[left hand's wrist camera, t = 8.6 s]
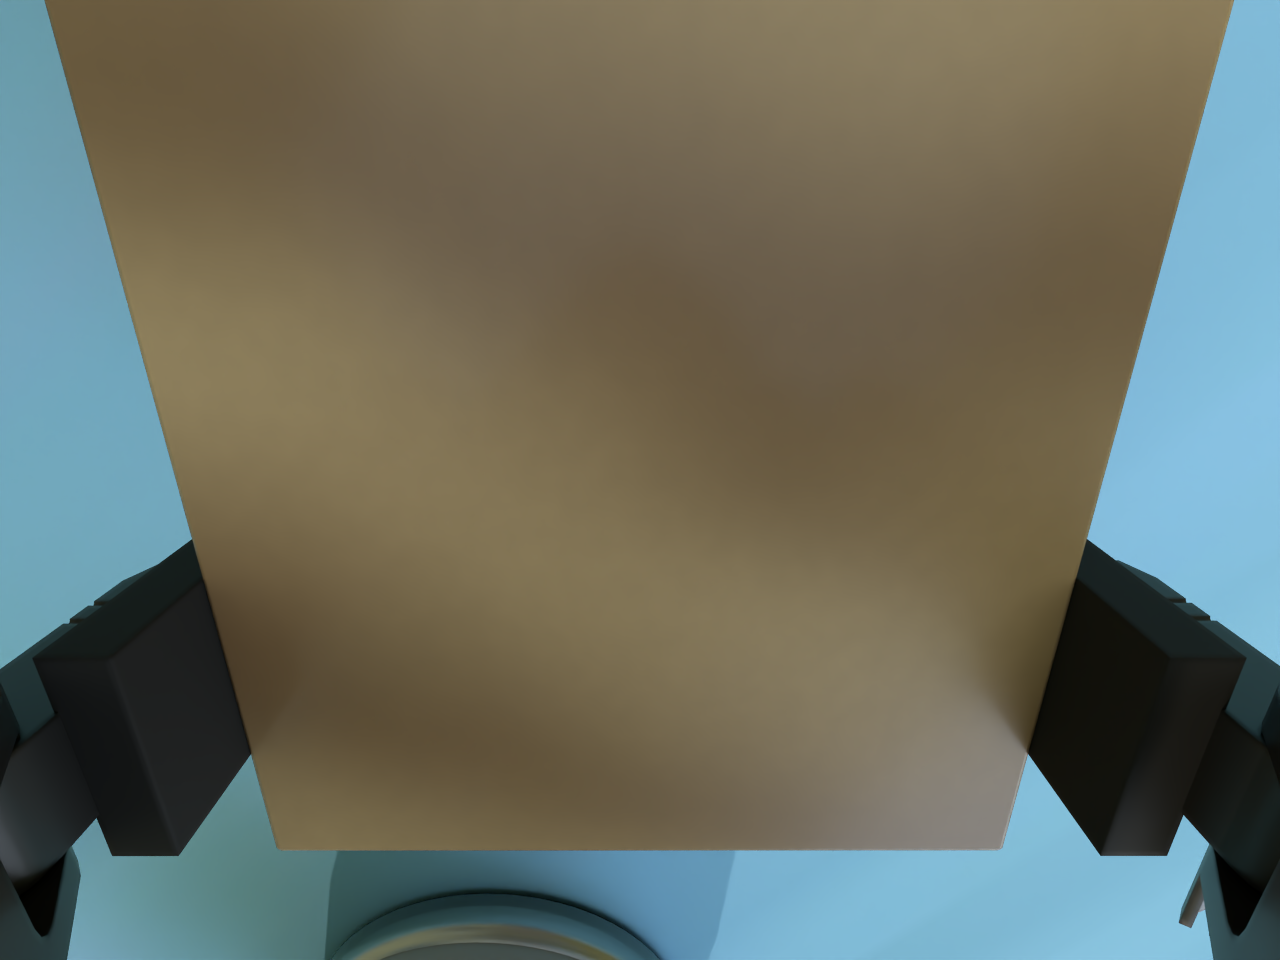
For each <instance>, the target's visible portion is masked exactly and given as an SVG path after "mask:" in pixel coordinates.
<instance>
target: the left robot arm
mask: <svg viewBox="0 0 1280 960" xmlns="http://www.w3.org/2000/svg"><path fill="white" fill-rule="evenodd" d="M1028 754H1029V756H1030V757H1031V758H1032V760H1033V761H1034V763H1035V764H1036V766H1037V767H1038V768H1039V770H1040V771H1041V773H1042V774H1043V775H1044V777H1045V778H1046V780H1047V781H1048V782H1049V784H1050V785H1051V787H1052V788H1053V789H1054V791H1055V792H1056V794H1057V795H1058V796H1059V798H1060V799H1061V801H1062V802H1063V804H1064V805H1065V806H1066V808H1067V809H1068V811H1069V812H1070V813H1071V815H1072V816H1073V818H1074V819H1075V820H1076V822H1077V823H1078V825H1079V826H1080V827H1081V829H1082V830H1083V832H1084V833H1085V834H1086V836H1087V837H1088V839H1089V840H1090V842H1091V843H1092V844H1093V846H1094V847H1095V849H1096V850H1097V851H1098V853H1099V854H1100V856H1167V854H1168V852H1169V849H1170V847H1171V844H1172V842H1173V839H1174V837H1175V834H1176V832H1177V830H1178V827H1179V825H1180V822H1181V820H1182V817H1183V815H1184V816H1185V817H1186V818H1187V819H1188V820H1189V821H1190V823H1191V824H1192V825H1193V826H1194V827H1195V828H1196V829H1197V830H1198V831H1199V833H1200V834H1201V835H1202V836H1203V837H1204V838H1205V839H1206V840H1207V842H1208V843H1209V846H1208V849H1207V851H1206V853H1205V855H1204V858H1203V860H1202V862H1201V865H1200V867H1199V869H1198V872H1197V874H1196V876H1195V879H1194V881H1193V883H1192V885H1191V888H1190V890H1189V892H1188V895H1187V897H1186V899H1185V902H1184V904H1183V906H1182V909H1181V914H1180V919H1179V923H1180V924H1183V925H1185V926H1187V927H1190V928H1191V927H1192V925H1193V923H1194V921H1195V918H1196V916H1197V914H1198V912H1201V911H1203V910H1205V911H1206V917H1207V923H1208V929H1209V936H1210V941H1211V947H1212V953H1213V959H1214V960H1280V666H1279V665H1278V664H1276V663H1275V662H1273V661H1272V660H1271V659H1269V658H1268V657H1266V656H1265V655H1264V654H1262V653H1261V652H1259V651H1258V650H1257V649H1255V648H1254V647H1252V646H1251V645H1250V644H1248V643H1247V642H1245V641H1244V640H1243V639H1241V638H1240V637H1239V636H1237V635H1236V634H1234V633H1233V632H1232V631H1230V630H1229V629H1227V628H1226V627H1225V626H1223V625H1222V624H1220V623H1219V622H1218V621H1211V620H1210V616H1209V615H1208V614H1206V613H1205V612H1204V611H1202V610H1201V609H1199V608H1198V607H1197V606H1195V605H1194V604H1192V603H1186V599H1185V598H1184V597H1183V596H1181V595H1180V594H1179V593H1177V592H1176V591H1174V590H1173V589H1172V588H1170V587H1169V586H1167V585H1166V584H1165V583H1163V582H1162V581H1160V580H1159V579H1158V578H1156V577H1154V576H1151V575H1149V574H1147V573H1145V572H1143V571H1140V570H1138V569H1136V568H1134V567H1132V566H1130V565H1127V564H1125V563H1123V562H1121V561H1119V560H1114V559H1113V558H1112V557H1110V556H1109V555H1108V554H1106V553H1105V552H1104V551H1102V550H1101V549H1100V548H1098V547H1097V546H1096V545H1094V544H1093V543H1092V542H1090V541H1089V540H1086V543H1085V547H1084V551H1083V554H1082V558H1081V562H1080V565H1079V569H1078V573H1077V576H1076V580H1075V584H1074V587H1073V591H1072V595H1071V598H1070V602H1069V606H1068V609H1067V613H1066V617H1065V620H1064V624H1063V628H1062V631H1061V635H1060V638H1059V642H1058V646H1057V649H1056V653H1055V657H1054V660H1053V664H1052V668H1051V671H1050V675H1049V679H1048V682H1047V686H1046V690H1045V693H1044V697H1043V701H1042V704H1041V708H1040V712H1039V715H1038V719H1037V723H1036V726H1035V730H1034V734H1033V737H1032V741H1031V745H1030V748H1029V752H1028ZM250 755H251V752H250V748H249V745H248V741H247V737H246V734H245V730H244V726H243V723H242V719H241V715H240V712H239V708H238V705H237V701H236V697H235V694H234V690H233V686H232V683H231V679H230V675H229V672H228V668H227V664H226V661H225V657H224V653H223V650H222V646H221V642H220V639H219V635H218V632H217V628H216V624H215V621H214V617H213V613H212V610H211V606H210V602H209V599H208V595H207V591H206V588H205V584H204V580H203V577H202V573H201V569H200V566H199V562H198V559H197V555H196V551H195V548H194V544H193V540H190V541H189V542H188V543H186V544H185V545H184V546H182V547H181V548H180V549H178V550H177V551H176V552H174V553H173V554H171V555H170V556H169V557H167V558H166V559H165V560H163V561H162V562H161V563H159V564H158V565H156V566H154V567H152V568H149V569H147V570H145V571H143V572H141V573H139V574H136V575H134V576H132V577H130V578H128V579H126V580H123V581H122V582H120V583H119V584H118V585H116V586H115V587H114V588H112V589H111V590H109V591H108V592H107V593H105V594H104V595H102V596H101V597H100V598H98V599H97V600H96V601H94V606H87V607H86V608H84V609H83V610H82V611H80V612H79V613H78V614H76V615H75V616H73V617H72V618H71V619H70V623H69V624H62V625H61V626H60V627H58V628H57V629H55V630H54V631H53V632H51V633H50V634H48V635H47V636H46V637H44V638H43V639H42V640H40V641H39V642H37V643H36V644H35V645H33V646H32V647H30V648H29V649H28V650H26V651H25V652H24V653H22V654H21V655H19V656H18V657H17V658H15V659H14V660H12V661H11V662H10V663H8V664H7V665H6V666H4V667H3V668H1V669H0V960H67V956H68V950H69V944H70V938H71V932H72V925H73V919H74V913H75V907H76V901H77V895H78V889H79V883H80V877H81V875H80V869H79V864H78V860H77V858H76V855H75V853H74V851H73V849H72V845H73V844H74V843H75V841H76V840H77V839H78V838H79V837H80V836H81V835H82V834H83V832H84V831H85V830H86V829H87V828H88V827H89V826H90V825H91V823H92V822H93V821H94V820H95V819H96V818H97V820H98V822H99V825H100V827H101V830H102V832H103V835H104V837H105V839H106V842H107V844H108V847H109V849H110V852H111V854H112V856H179V855H180V853H181V852H182V850H183V849H184V847H185V846H186V845H187V843H188V842H189V840H190V839H191V838H192V836H193V835H194V833H195V832H196V831H197V829H198V828H199V826H200V825H201V824H202V822H203V821H204V819H205V818H206V817H207V815H208V814H209V812H210V811H211V809H212V808H213V807H214V805H215V804H216V802H217V801H218V800H219V798H220V797H221V795H222V794H223V793H224V791H225V790H226V788H227V787H228V786H229V784H230V783H231V781H232V780H233V779H234V777H235V776H236V774H237V773H238V771H239V770H240V769H241V767H242V766H243V764H244V763H245V762H246V760H247V759H248V757H249V756H250ZM331 960H659V959H658V958H657V956H656V955H655V954H654V953H653V952H652V951H651V950H650V949H649V948H647V947H646V946H645V945H644V944H643V943H642V942H641V941H639V940H638V939H636V938H635V937H634V936H632V935H631V934H629V933H628V932H626V931H625V930H623V929H621V928H620V927H618V926H616V925H615V924H613V923H611V922H609V921H607V920H605V919H603V918H601V917H598V916H596V915H594V914H591V913H589V912H586V911H583V910H581V909H578V908H575V907H572V906H568V905H565V904H562V903H557V902H553V901H549V900H544V899H539V898H533V897H526V896H518V895H507V894H469V895H458V896H449V897H442V898H437V899H432V900H427V901H423V902H420V903H416V904H412V905H409V906H406V907H403V908H401V909H398V910H395V911H393V912H390V913H388V914H386V915H384V916H382V917H380V918H378V919H376V920H374V921H373V922H371V923H369V924H368V925H366V926H364V927H363V928H362V929H360V930H359V931H358V932H356V933H355V934H354V935H352V936H351V937H350V938H349V939H348V940H347V941H346V942H345V943H344V944H343V945H342V946H341V947H340V948H339V950H338V951H337V952H336V953H335V955H334V956H333V958H332V959H331Z"/></svg>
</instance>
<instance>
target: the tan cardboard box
mask: <svg viewBox="0 0 1280 960" xmlns="http://www.w3.org/2000/svg"><path fill="white" fill-rule="evenodd" d="M1233 2H1234V0H45V4H46V7H47V11H48V15H49V18H50V22H51V26H52V29H53V33H54V37H55V40H56V44H57V48H58V51H59V55H60V59H61V62H62V66H63V69H64V73H65V77H66V80H67V84H68V88H69V91H70V95H71V99H72V102H73V106H74V110H75V113H76V117H77V121H78V124H79V128H80V132H81V135H82V139H83V142H84V146H85V150H86V153H87V157H88V161H89V164H90V168H91V172H92V175H93V179H94V183H95V186H96V190H97V194H98V197H99V201H100V205H101V208H102V212H103V215H104V219H105V223H106V226H107V230H108V234H109V237H110V241H111V245H112V248H113V252H114V256H115V259H116V263H117V267H118V270H119V274H120V277H121V281H122V285H123V288H124V292H125V296H126V299H127V303H128V307H129V310H130V314H131V318H132V321H133V325H134V329H135V332H136V336H137V340H138V343H139V347H140V350H141V354H142V358H143V361H144V365H145V369H146V372H147V376H148V380H149V383H150V387H151V391H152V394H153V398H154V402H155V405H156V409H157V413H158V416H159V420H160V423H161V427H162V431H163V434H164V438H165V442H166V445H167V449H168V453H169V456H170V460H171V464H172V467H173V471H174V475H175V478H176V482H177V486H178V489H179V493H180V496H181V500H182V504H183V507H184V511H185V515H186V518H187V522H188V526H189V529H190V533H191V537H192V540H193V544H194V548H195V551H196V555H197V559H198V562H199V566H200V569H201V573H202V577H203V580H204V584H205V588H206V591H207V595H208V599H209V602H210V606H211V610H212V613H213V617H214V621H215V624H216V628H217V632H218V635H219V639H220V642H221V646H222V650H223V653H224V657H225V661H226V664H227V668H228V672H229V675H230V679H231V683H232V686H233V690H234V694H235V697H236V701H237V705H238V708H239V712H240V715H241V719H242V723H243V726H244V730H245V734H246V737H247V741H248V745H249V748H250V752H251V756H252V759H253V763H254V767H255V770H256V774H257V777H258V781H259V785H260V788H261V792H262V796H263V799H264V803H265V807H266V810H267V814H268V818H269V821H270V825H271V829H272V832H273V836H274V840H275V843H276V847H277V848H278V849H279V850H999V849H1001V848H1002V847H1003V843H1004V840H1005V836H1006V832H1007V829H1008V825H1009V821H1010V818H1011V814H1012V810H1013V807H1014V803H1015V799H1016V796H1017V792H1018V788H1019V785H1020V781H1021V777H1022V774H1023V770H1024V766H1025V763H1026V759H1027V755H1028V752H1029V748H1030V745H1031V741H1032V737H1033V734H1034V730H1035V726H1036V723H1037V719H1038V715H1039V712H1040V708H1041V704H1042V701H1043V697H1044V693H1045V690H1046V686H1047V682H1048V679H1049V675H1050V671H1051V668H1052V664H1053V660H1054V657H1055V653H1056V649H1057V646H1058V642H1059V638H1060V635H1061V631H1062V628H1063V624H1064V620H1065V617H1066V613H1067V609H1068V606H1069V602H1070V598H1071V595H1072V591H1073V587H1074V584H1075V580H1076V576H1077V573H1078V569H1079V565H1080V562H1081V558H1082V554H1083V551H1084V547H1085V543H1086V540H1087V536H1088V532H1089V529H1090V525H1091V521H1092V518H1093V514H1094V511H1095V507H1096V503H1097V500H1098V496H1099V492H1100V489H1101V485H1102V481H1103V478H1104V474H1105V470H1106V467H1107V463H1108V459H1109V456H1110V452H1111V448H1112V445H1113V441H1114V437H1115V434H1116V430H1117V426H1118V423H1119V419H1120V415H1121V412H1122V408H1123V405H1124V401H1125V397H1126V394H1127V390H1128V386H1129V383H1130V379H1131V375H1132V372H1133V368H1134V364H1135V361H1136V357H1137V353H1138V350H1139V346H1140V342H1141V339H1142V335H1143V331H1144V328H1145V324H1146V320H1147V317H1148V313H1149V309H1150V306H1151V302H1152V299H1153V295H1154V291H1155V288H1156V284H1157V280H1158V277H1159V273H1160V269H1161V266H1162V262H1163V258H1164V255H1165V251H1166V247H1167V244H1168V240H1169V236H1170V233H1171V229H1172V225H1173V222H1174V218H1175V214H1176V211H1177V207H1178V203H1179V200H1180V196H1181V192H1182V189H1183V185H1184V182H1185V178H1186V174H1187V171H1188V167H1189V163H1190V160H1191V156H1192V152H1193V149H1194V145H1195V141H1196V138H1197V134H1198V130H1199V127H1200V123H1201V119H1202V116H1203V112H1204V108H1205V105H1206V101H1207V97H1208V94H1209V90H1210V86H1211V83H1212V79H1213V75H1214V72H1215V68H1216V65H1217V61H1218V57H1219V54H1220V50H1221V46H1222V43H1223V39H1224V35H1225V32H1226V28H1227V24H1228V21H1229V17H1230V13H1231V10H1232V6H1233Z"/></svg>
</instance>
